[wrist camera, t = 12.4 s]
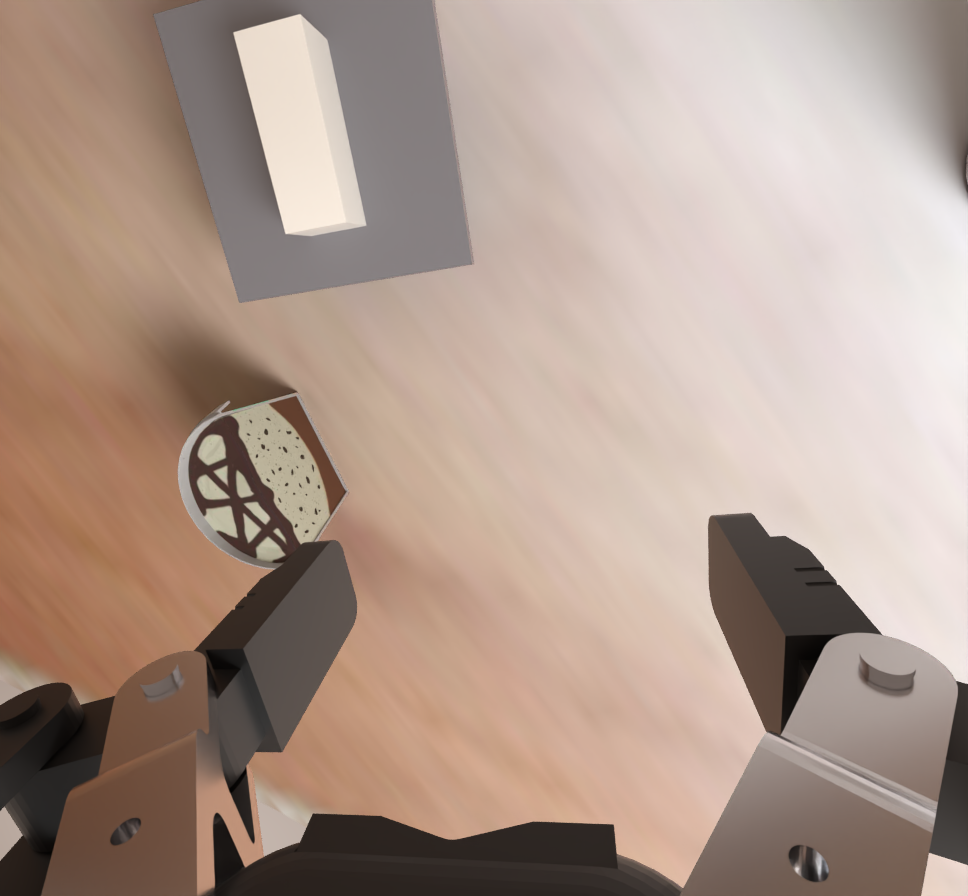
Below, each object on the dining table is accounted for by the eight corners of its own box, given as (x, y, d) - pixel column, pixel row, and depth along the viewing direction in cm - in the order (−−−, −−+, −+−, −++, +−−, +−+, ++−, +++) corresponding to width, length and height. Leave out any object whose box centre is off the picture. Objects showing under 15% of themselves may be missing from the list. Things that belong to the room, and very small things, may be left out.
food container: (227, 400, 42) (134, 440, 33) (289, 374, 41) (209, 408, 31) (298, 526, 46) (231, 594, 36) (357, 507, 44) (302, 573, 35)
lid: (426, -55, 25) (404, -105, 22) (474, 264, 30) (462, 264, 27) (163, 21, 28) (107, -14, 24) (246, 301, 33) (209, 307, 29)
